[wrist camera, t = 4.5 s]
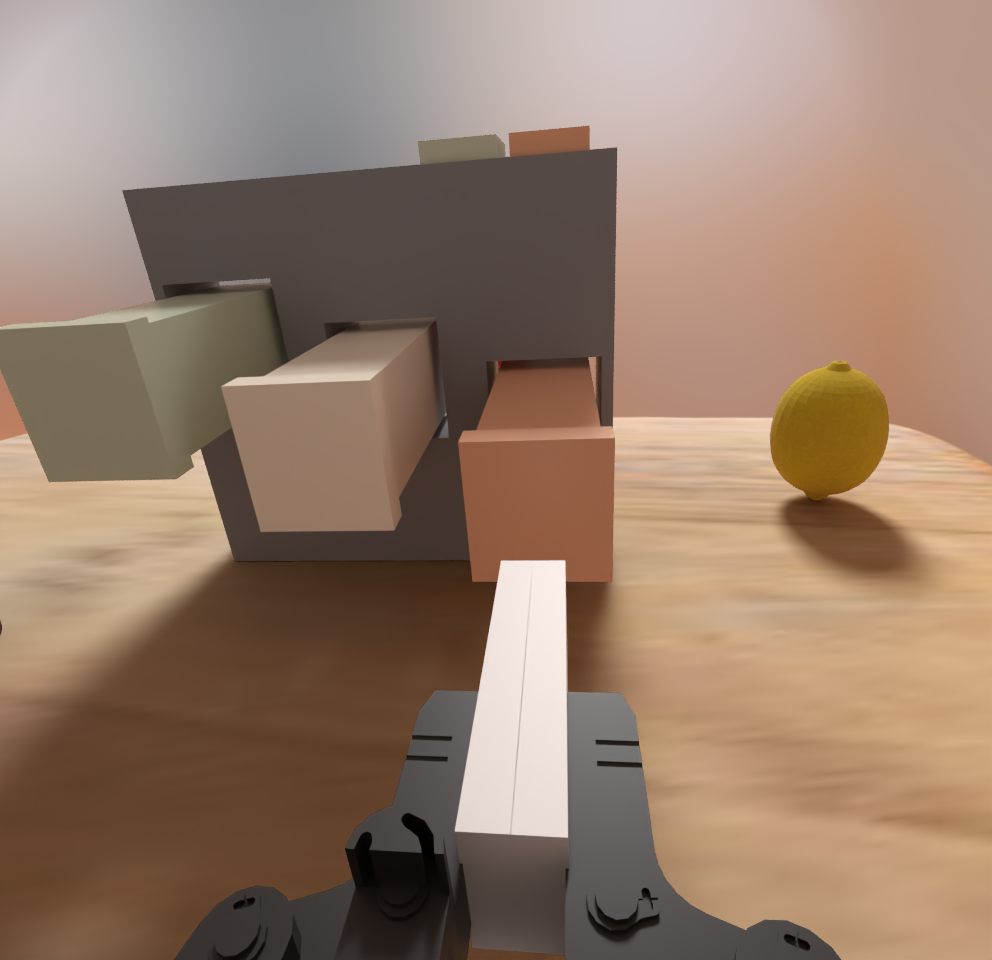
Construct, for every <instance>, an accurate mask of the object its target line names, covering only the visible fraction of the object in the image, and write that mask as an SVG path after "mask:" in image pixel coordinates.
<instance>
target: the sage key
mask: <svg viewBox="0 0 992 960" xmlns="http://www.w3.org/2000/svg"><path fill="white" fill-rule="evenodd" d="M286 363H288V358H287V353H286V349H285V344H284V339H283V335H282V330H281V326H280V321H279V317H278V312H277V308H276V303H275V299H274V294H273V289H272V285H271V283H258V284H257V283H256V284H242V285H225V286H218V287H213V288H209V289H205V290H201V291H196V292H192V293H188V294H184V295H179V296H175V297H171V298H166V299H162V300H158V301H154V302H149V303H145V304H141V305H137V306H132V307H128V308H124V309H120V310H116V311H112V312H107V313H103V314H99V315H94V316H90V317H85V318H81V319H77V320H73V321H61V322H44V323H28V324H12V325H7V326H2V327H0V370H1V372H2V374H3V376H4V379H5V381H6V383H7V386H8V388H9V391H10V393H11V395H12V397H13V400H14V402H15V404H16V407H17V409H18V411H19V414H20V416H21V418H22V421H23V423H24V425H25V427H26V430H27V432H28V435H29V437H30V439H31V441H32V444H33V446H34V448H35V451H36V453H37V455H38V458H39V460H40V462H41V465H42V467H43V469H44V472H45V474H46V476H47V479H48V481H49V482H67V481H113V480H159V479H177V478H179V477H180V476H181V475H183V474H184V473H186V472H187V471H189V470H190V469H191V468H193V467H194V466H193V462H192V459H191V456H190V455H192V454H193V453H195V452H196V451H198V450H199V449H201V448H202V447H204V446H205V445H207V444H208V443H210V442H211V441H213V440H214V439H216V438H217V437H219V436H220V435H222V434H223V433H225V432H226V431H228V430H229V429H231V428H232V425H231V422H230V418H229V414H228V411H227V407H226V403H225V400H224V396H223V392H222V389H221V386H223V385H225V384H226V383H228V382H230V381H232V380H234V379H236V378H239V377H262V376H265V375H267V374H269V373H270V372H272V371H274V370H276V369H277V368H279V367H281V366H282V365H284V364H286Z"/></svg>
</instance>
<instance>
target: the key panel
mask: <svg viewBox="0 0 992 960" xmlns="http://www.w3.org/2000/svg"><path fill="white" fill-rule="evenodd" d="M418 145H419V155H420V164H421V165H410V166H400V167H387V168H376V169H364V170H353V171H341V172H329V173H318V174H306V175H295V176H285V177H272V178H260V179H249V180H237V181H226V182H216V183H215V182H214V183H204V184H191V185H180V186H169V187H157V188H146V189H134V190H123V194H124V198H125V201H126V204H127V207H128V211H129V214H130V217H131V221H132V224H133V227H134V230H135V233H136V237H137V240H138V244H139V247H140V250H141V253H142V257H143V260H144V264H145V267H146V270H147V273H148V276H149V280H150V283H151V287H152V290H153V293H154V296H155V300H156V301H158V300H162V299H166V298H171V297H175V296H179V295H184V294H188V293H192V292H196V291H201V290H205V289H209V288H213V287H218V286H219V282H218V281H232V280H248V279H263V278H270V280H271V285H272V289H273V294H274V299H275V303H276V308H277V312H278V317H279V321H280V326H281V330H282V335H283V339H284V344H285V349H286V353H287V358H288V362H289V361H291V360H293V359H295V358H296V357H298V356H300V355H302V354H303V353H305V352H307V351H309V350H310V349H312V348H314V347H316V346H317V345H319V344H321V343H323V342H324V341H326V340H328V339H330V338H331V337H333V336H335V335H337V334H338V333H340V332H342V331H344V330H345V329H347V328H349V327H351V326H352V325H354V324H356V323H357V322H359V321H375V320H394V319H412V318H430V317H436V322H437V332H438V341H439V350H440V359H441V368H442V377H443V386H444V396H445V405H446V413H445V415H444V417H443V419H442V421H441V422H440V424H439V426H438V428H437V430H436V431H435V433H434V435H433V437H432V439H431V440H430V442H429V444H428V446H427V448H426V449H425V451H424V453H423V455H422V457H421V458H420V460H419V462H418V464H417V466H416V467H415V469H414V471H413V473H412V475H411V477H410V478H409V480H408V482H407V484H406V486H405V487H404V489H403V491H402V493H401V495H400V496H399V501H400V507H401V513H402V516H401V518H400V520H399V522H398V524H397V526H396V528H395V530H394V531H293V532H261V531H260V527H259V524H258V520H257V516H256V513H255V509H254V505H253V502H252V498H251V495H250V491H249V487H248V484H247V480H246V476H245V473H244V469H243V465H242V462H241V458H240V454H239V451H238V447H237V443H236V440H235V436H234V433H233V429H232V428H231V429H229V430H228V431H226V432H225V433H223V434H222V435H220V436H219V437H217V438H216V439H214V440H213V441H211V442H210V443H208V444H207V445H205V446H204V447H202V448H201V452H202V455H203V458H204V461H205V465H206V468H207V471H208V475H209V478H210V481H211V485H212V488H213V491H214V494H215V498H216V501H217V504H218V508H219V511H220V514H221V518H222V521H223V524H224V527H225V531H226V534H227V537H228V541H229V544H230V547H231V550H232V554H233V557H234V560H235V561H423V560H470V553H469V543H468V533H467V524H466V514H465V504H464V494H463V485H462V475H461V465H460V456H459V446H458V442H459V439H460V437H461V435H462V432H463V431H472V430H476V429H477V427H478V424H479V421H480V419H481V416H482V414H483V411H484V408H485V406H486V403H487V400H488V398H489V395H490V392H491V390H492V387H493V384H494V382H495V379H496V376H497V374H498V361H509V360H531V359H553V358H576V357H596V404H597V409H598V415H599V420H600V426H601V427H603V426H612V428H613V372H614V369H613V368H614V310H615V307H614V304H615V247H616V187H617V184H616V182H617V148H607V149H594V150H589V126H582V127H571V128H560V129H549V130H539V131H528V132H516V133H509V146H510V157H505V144H504V143H503V142H502V141H501V140H500V139H499V138H498V137H497V135H484V136H473V137H463V138H451V139H440V140H430V141H419V142H418Z"/></svg>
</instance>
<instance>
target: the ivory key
mask: <svg viewBox="0 0 992 960" xmlns="http://www.w3.org/2000/svg"><path fill="white" fill-rule="evenodd" d="M221 389H222V392H223V396H224V400H225V403H226V407H227V411H228V414H229V418H230V422H231V425H232V429H233V433H234V436H235V440H236V443H237V447H238V451H239V454H240V458H241V462H242V465H243V469H244V473H245V476H246V480H247V484H248V487H249V491H250V495H251V498H252V502H253V505H254V509H255V513H256V516H257V520H258V524H259V527H260V531H261V532H293V531H394V530H395V528H396V526H397V524H398V522H399V520H400V518H401V516H402V513H401V507H400V501H399V496H400V495H401V493H402V491H403V489H404V487H405V486H406V484H407V482H408V480H409V478H410V477H411V475H412V473H413V471H414V469H415V467H416V466H417V464H418V462H419V460H420V458H421V457H422V455H423V453H424V451H425V449H426V448H427V446H428V444H429V442H430V440H431V439H432V437H433V435H434V433H435V431H436V430H437V428H438V426H439V424H440V422H441V421H442V419H443V417H444V415H445V413H446V405H445V396H444V386H443V377H442V368H441V359H440V350H439V341H438V332H437V322H436V317H430V318H412V319H394V320H375V321H359V322H357V323H356V324H354V325H352V326H351V327H349V328H347V329H345V330H344V331H342V332H340V333H338V334H337V335H335V336H333V337H331V338H330V339H328V340H326V341H324V342H323V343H321V344H319V345H317V346H316V347H314V348H312V349H310V350H309V351H307V352H305V353H303V354H302V355H300V356H298V357H296V358H295V359H293V360H291V361H289V362H288V363H286V364H284V365H282V366H281V367H279V368H277V369H276V370H274V371H272V372H270V373H269V374H267V375H265V376H262V377H239V378H236V379H234V380H232V381H230V382H228V383H226V384H225V385H223V386H221Z"/></svg>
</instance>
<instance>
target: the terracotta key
mask: <svg viewBox="0 0 992 960" xmlns="http://www.w3.org/2000/svg"><path fill="white" fill-rule="evenodd" d="M458 446H459V456H460V465H461V475H462V485H463V494H464V504H465V514H466V524H467V533H468V543H469V553H470V562H471V572H472V582H498V576H499V570H500V564H501V561H550V560H565V566H566V582H612V566H613V511H614V455H615V437H614V432H613V428H612V426H603V427H601V426H600V420H599V415H598V409H597V404H596V398H595V393H594V387H593V382H592V378H591V372H590V366H589V360H588V357H576V358H553V359H531V360H509V361H502V363H501V366H500V368H499V371H498V374H497V376H496V379H495V382H494V384H493V387H492V390H491V392H490V395H489V398H488V400H487V403H486V406H485V408H484V411H483V414H482V416H481V419H480V421H479V424H478V427H477V429H476V430H472V431H463V432H462V435H461V437H460V439H459V442H458Z"/></svg>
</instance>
